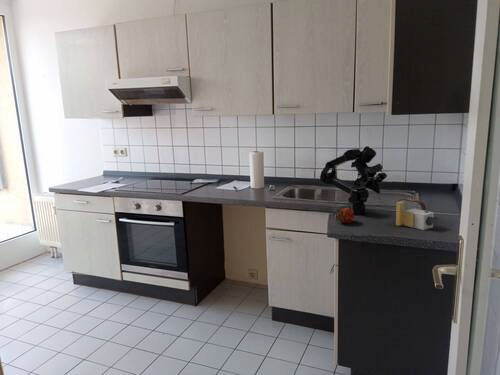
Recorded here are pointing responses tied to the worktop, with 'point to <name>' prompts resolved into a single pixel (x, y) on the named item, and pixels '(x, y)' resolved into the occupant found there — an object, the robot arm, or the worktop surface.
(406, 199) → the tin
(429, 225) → the camera housing
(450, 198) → the worktop surface
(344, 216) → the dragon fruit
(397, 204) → the side door
